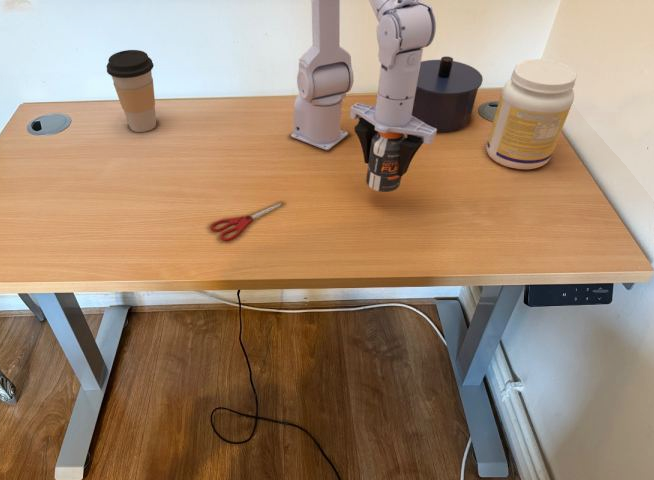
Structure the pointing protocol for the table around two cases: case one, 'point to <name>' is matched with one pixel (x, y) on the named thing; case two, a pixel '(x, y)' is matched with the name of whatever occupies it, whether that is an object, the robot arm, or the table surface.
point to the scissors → (238, 223)
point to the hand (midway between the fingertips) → (385, 166)
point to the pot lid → (448, 77)
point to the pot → (444, 110)
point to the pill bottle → (384, 162)
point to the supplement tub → (531, 113)
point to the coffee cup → (134, 87)
